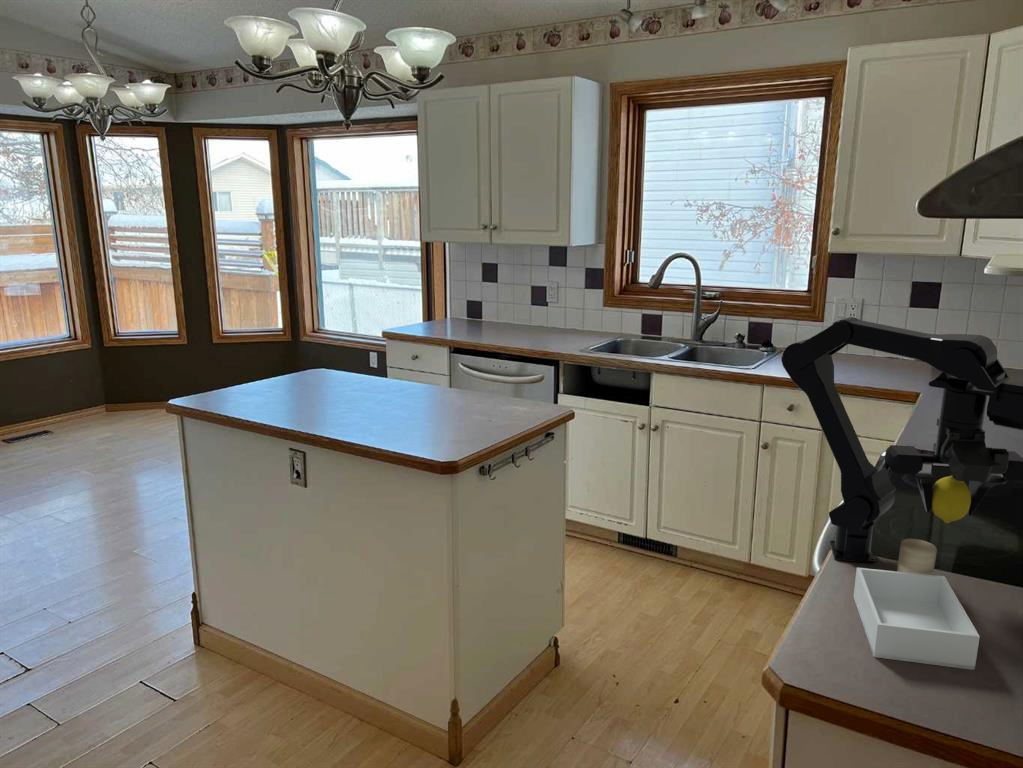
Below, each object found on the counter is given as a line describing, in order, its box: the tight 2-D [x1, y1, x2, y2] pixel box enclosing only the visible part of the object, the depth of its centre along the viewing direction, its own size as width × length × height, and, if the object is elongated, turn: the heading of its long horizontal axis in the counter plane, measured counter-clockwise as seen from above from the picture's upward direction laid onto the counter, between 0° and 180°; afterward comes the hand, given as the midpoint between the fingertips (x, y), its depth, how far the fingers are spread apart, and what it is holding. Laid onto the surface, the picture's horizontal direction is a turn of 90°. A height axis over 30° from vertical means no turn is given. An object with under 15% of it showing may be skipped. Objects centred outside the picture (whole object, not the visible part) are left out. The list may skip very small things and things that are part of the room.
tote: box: [853, 567, 980, 671], centre depth 107 cm, size 16×12×5 cm
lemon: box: [931, 474, 971, 524], centre depth 117 cm, size 6×6×8 cm
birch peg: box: [896, 538, 938, 575], centre depth 118 cm, size 5×5×7 cm
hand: (947, 513), depth 117 cm, fingers closed on lemon, 5 cm apart
